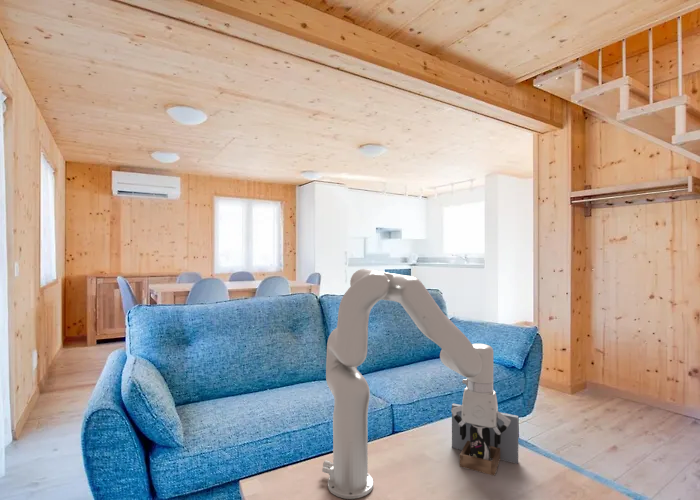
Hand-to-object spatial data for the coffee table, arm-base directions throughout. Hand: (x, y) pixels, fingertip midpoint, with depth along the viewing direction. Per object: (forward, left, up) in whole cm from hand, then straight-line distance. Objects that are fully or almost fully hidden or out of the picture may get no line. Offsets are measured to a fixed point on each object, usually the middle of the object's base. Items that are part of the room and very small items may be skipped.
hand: (479, 441), depth 121 cm
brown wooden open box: (0, 0, -7) cm, 7 cm away
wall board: (0, +6, -7) cm, 9 cm away
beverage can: (0, 0, -7) cm, 7 cm away
